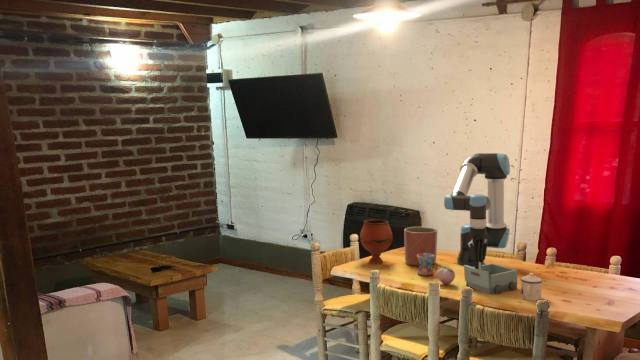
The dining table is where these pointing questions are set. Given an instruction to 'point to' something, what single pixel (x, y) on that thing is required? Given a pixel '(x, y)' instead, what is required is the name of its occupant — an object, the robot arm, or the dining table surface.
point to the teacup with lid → (531, 287)
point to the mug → (425, 264)
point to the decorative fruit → (445, 275)
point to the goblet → (376, 238)
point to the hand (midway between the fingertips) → (478, 274)
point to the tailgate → (476, 276)
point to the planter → (419, 243)
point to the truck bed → (498, 279)
